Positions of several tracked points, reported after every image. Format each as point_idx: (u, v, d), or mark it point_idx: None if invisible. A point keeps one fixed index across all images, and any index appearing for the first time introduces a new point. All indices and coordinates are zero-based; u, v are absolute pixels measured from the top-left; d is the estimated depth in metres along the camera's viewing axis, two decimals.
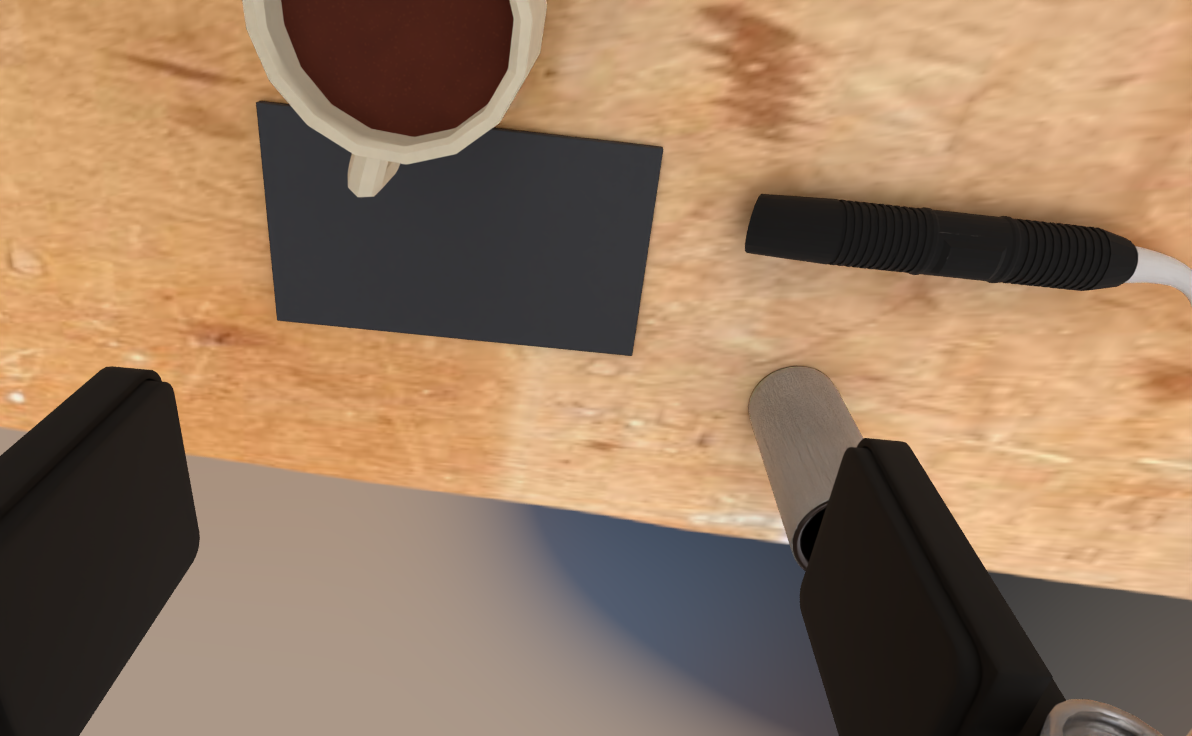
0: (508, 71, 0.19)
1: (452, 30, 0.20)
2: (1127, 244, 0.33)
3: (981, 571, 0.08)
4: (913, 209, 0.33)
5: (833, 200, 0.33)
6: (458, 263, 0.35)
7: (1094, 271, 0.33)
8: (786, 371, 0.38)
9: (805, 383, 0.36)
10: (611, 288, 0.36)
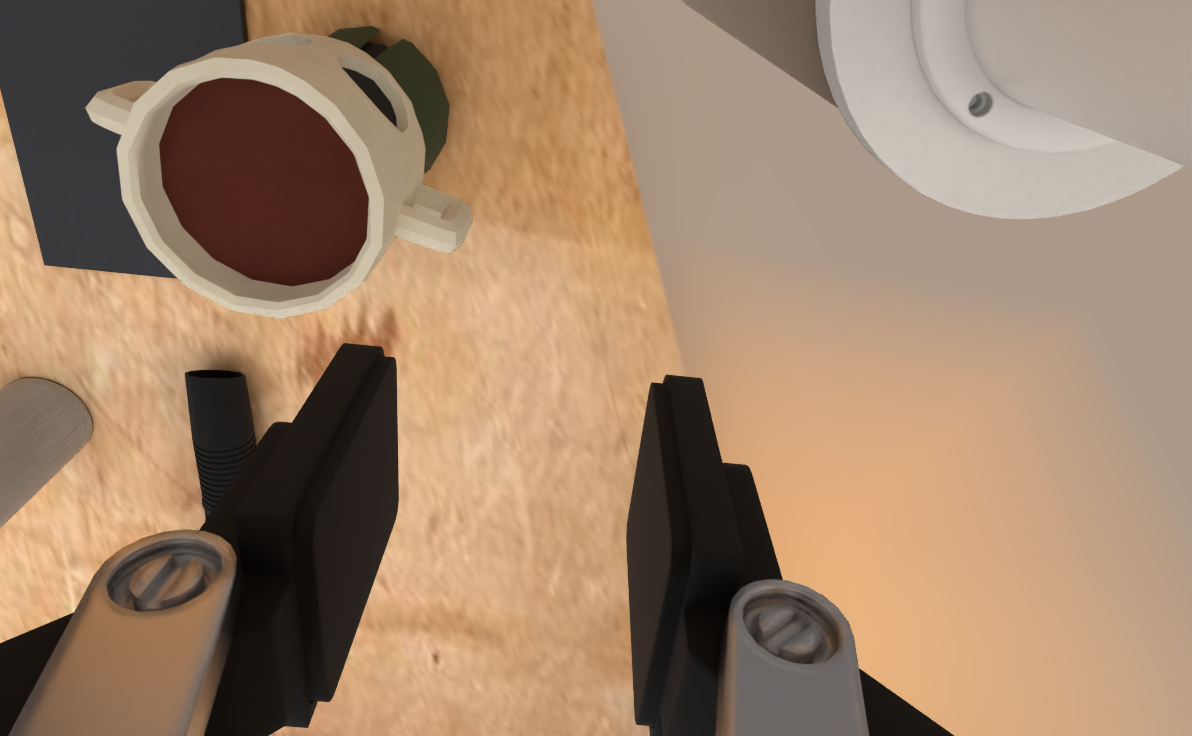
0: (234, 296, 0.22)
1: (268, 231, 0.22)
2: None
3: (719, 478, 0.09)
4: None
5: (251, 432, 0.38)
6: (93, 77, 0.31)
7: None
8: (80, 409, 0.38)
9: (70, 434, 0.37)
10: (115, 243, 0.34)
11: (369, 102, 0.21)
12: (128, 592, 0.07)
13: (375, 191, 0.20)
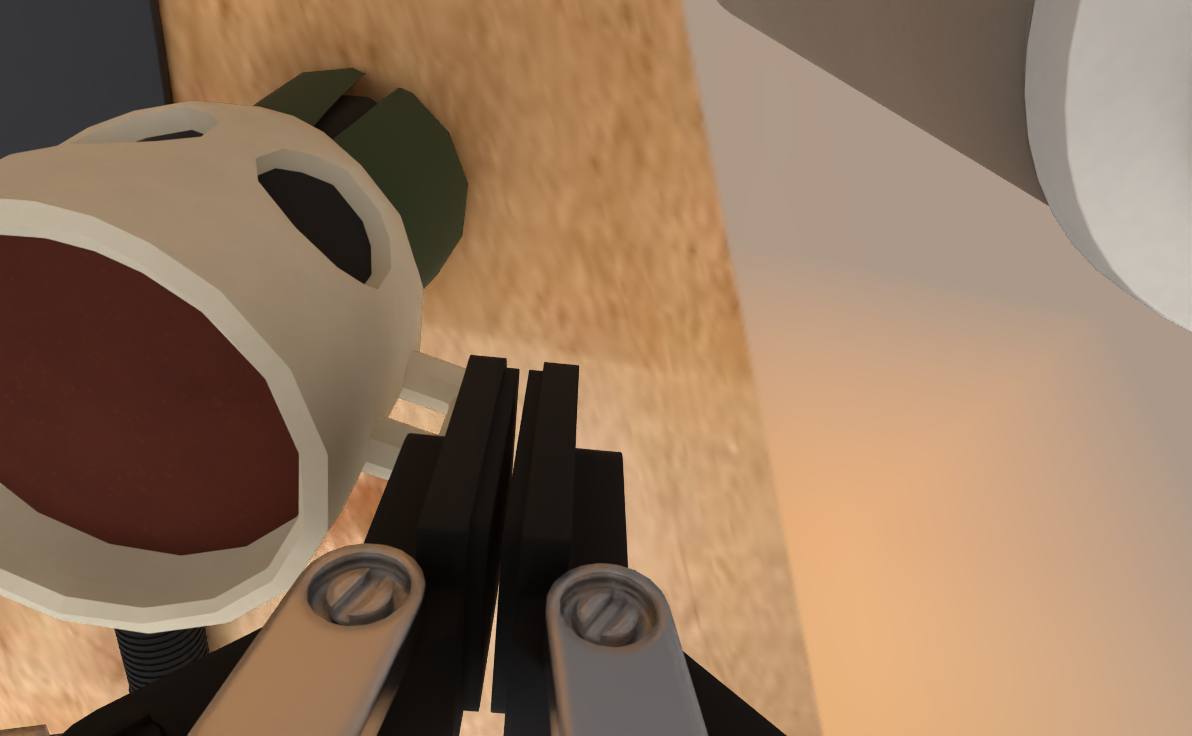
0: (62, 597, 0.12)
1: (129, 472, 0.12)
2: None
3: (567, 463, 0.09)
4: None
5: None
6: None
7: None
8: None
9: None
10: None
11: (308, 253, 0.11)
12: (325, 606, 0.07)
13: (310, 443, 0.10)
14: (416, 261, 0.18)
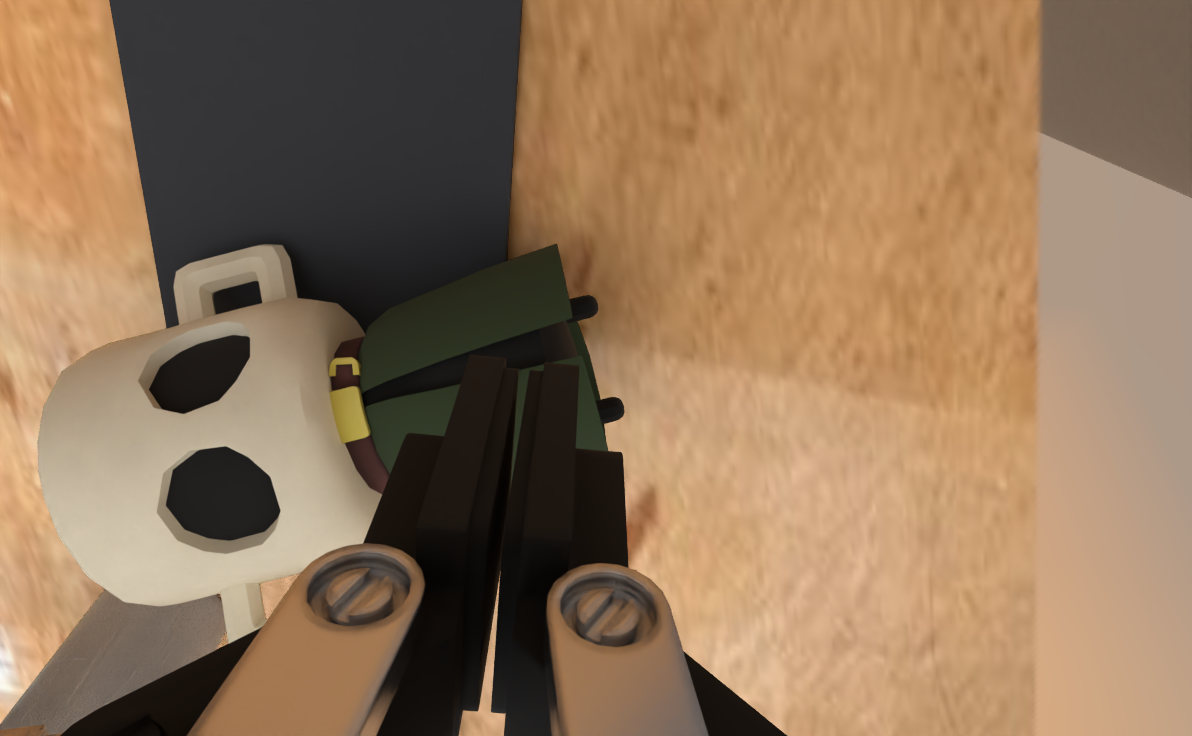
0: None
1: None
2: None
3: (568, 463, 0.09)
4: None
5: None
6: (283, 190, 0.21)
7: None
8: (215, 606, 0.28)
9: (205, 647, 0.28)
10: None
11: (149, 530, 0.17)
12: (324, 606, 0.07)
13: (119, 592, 0.19)
14: None
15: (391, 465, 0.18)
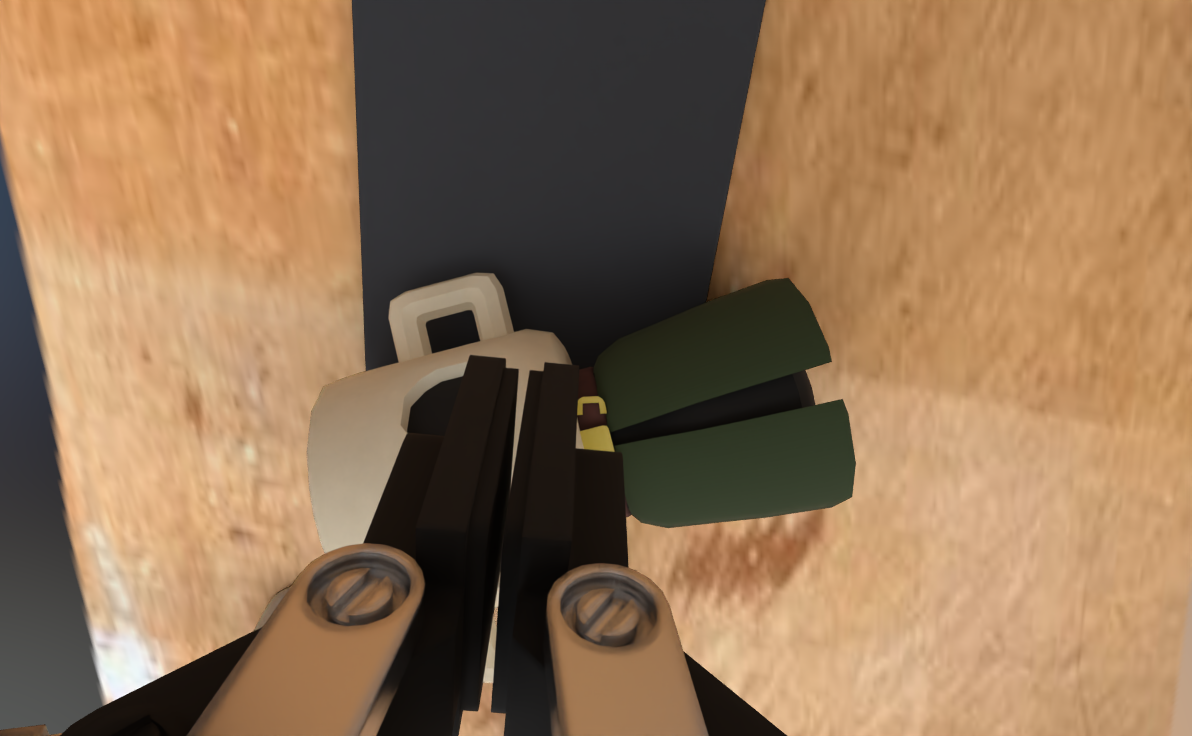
0: None
1: None
2: None
3: (568, 463, 0.09)
4: None
5: None
6: (499, 215, 0.21)
7: None
8: None
9: None
10: None
11: None
12: (324, 606, 0.07)
13: None
14: (692, 523, 0.20)
15: (637, 500, 0.19)
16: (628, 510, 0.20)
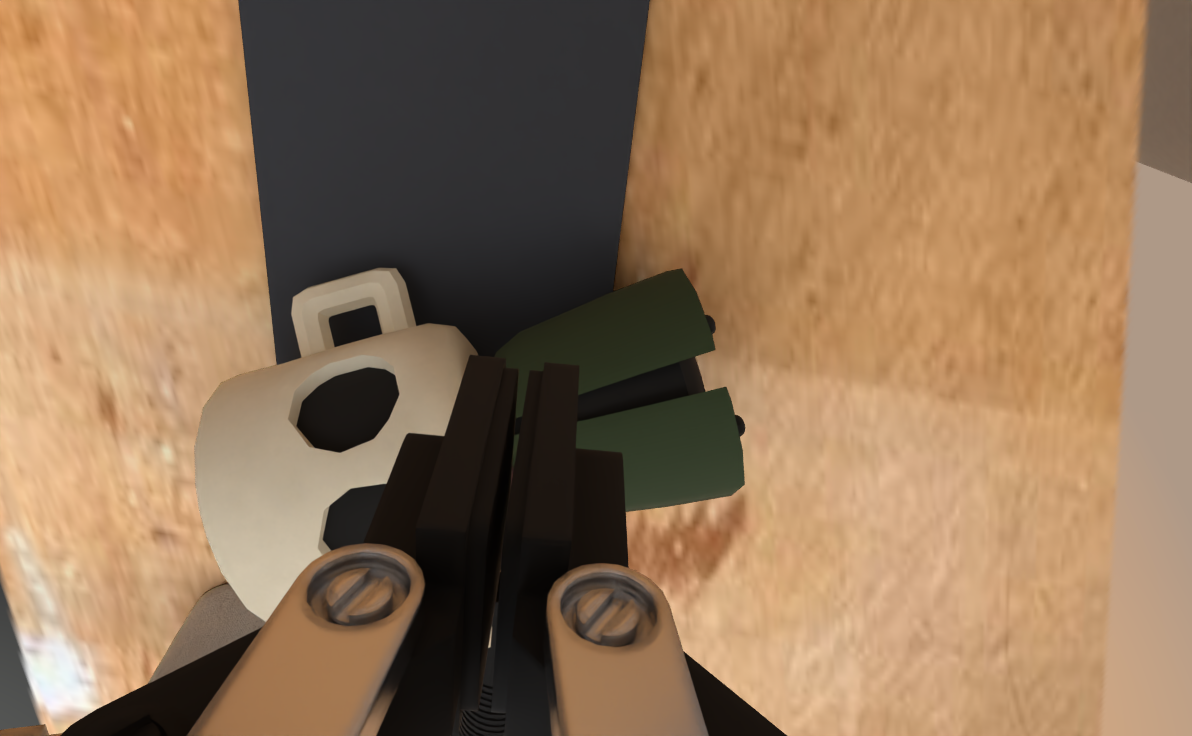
0: None
1: None
2: None
3: (568, 463, 0.09)
4: None
5: None
6: (400, 210, 0.21)
7: None
8: None
9: None
10: None
11: None
12: (324, 606, 0.07)
13: None
14: None
15: None
16: None
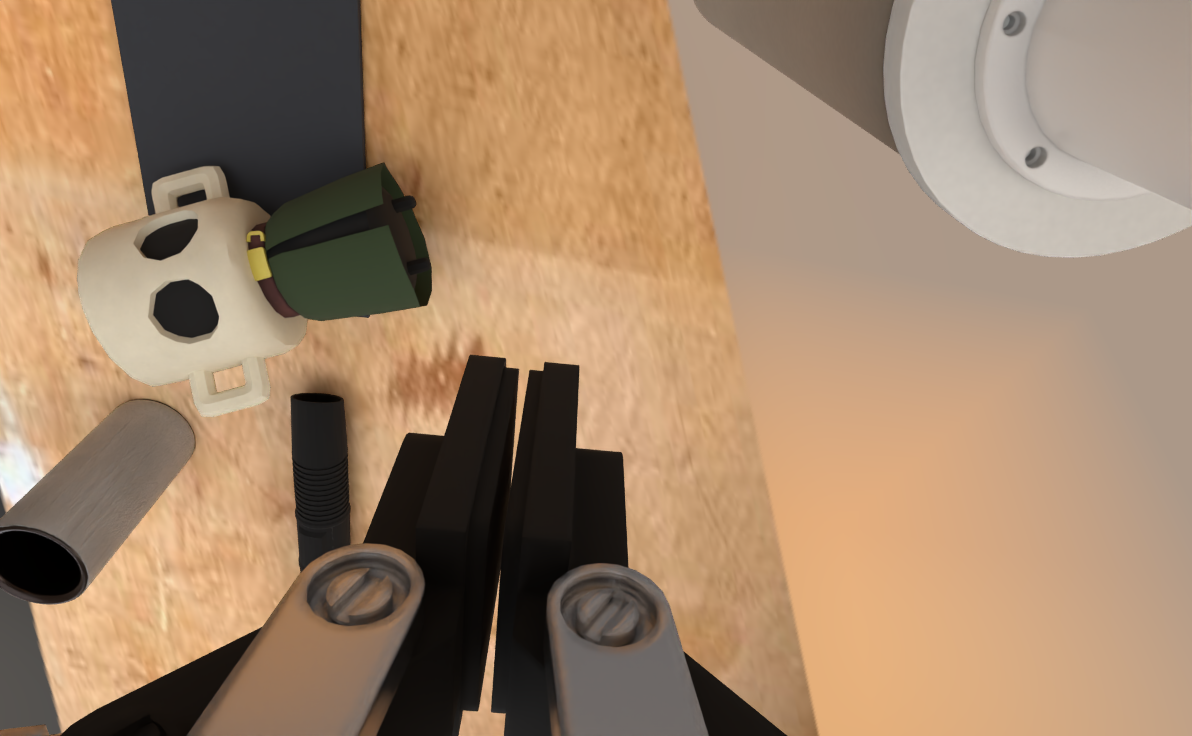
0: None
1: None
2: None
3: (568, 463, 0.09)
4: (347, 502, 0.42)
5: (346, 451, 0.41)
6: (221, 129, 0.34)
7: None
8: (185, 428, 0.41)
9: (178, 452, 0.40)
10: None
11: (144, 328, 0.30)
12: (324, 606, 0.07)
13: (128, 371, 0.32)
14: (330, 314, 0.32)
15: (285, 294, 0.31)
16: (288, 305, 0.32)
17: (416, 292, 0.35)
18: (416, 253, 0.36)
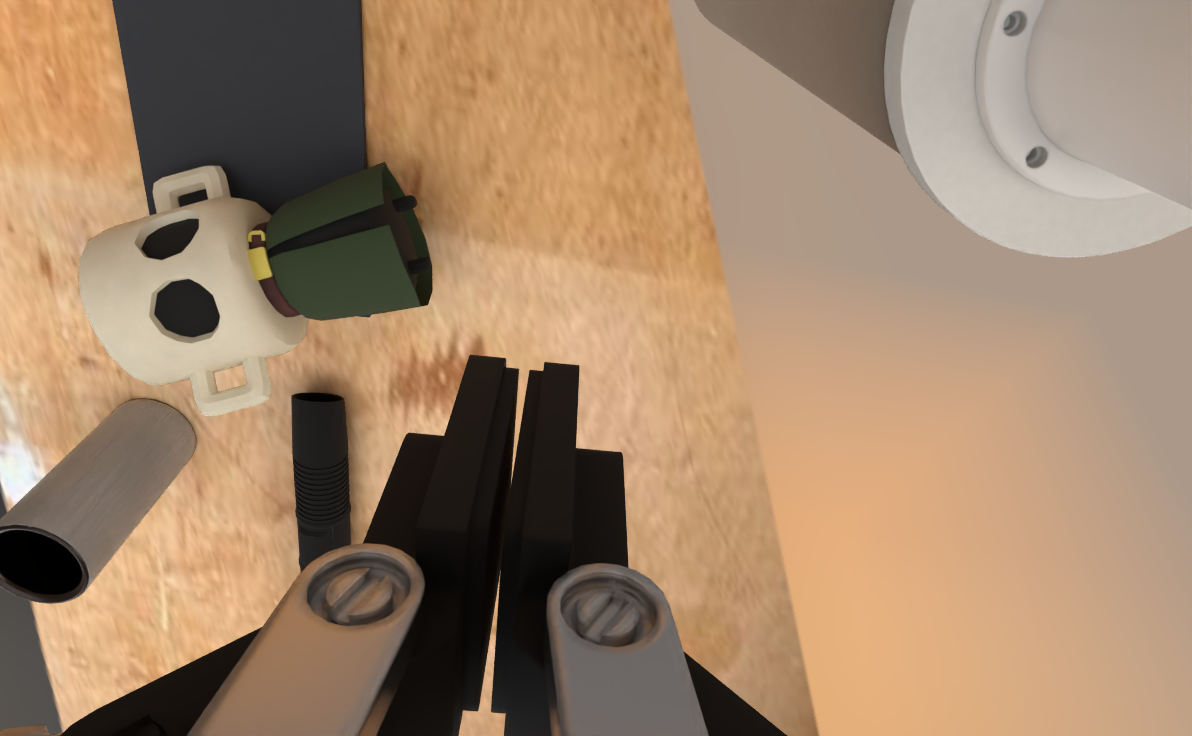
0: None
1: None
2: None
3: (568, 463, 0.09)
4: (347, 502, 0.42)
5: (346, 450, 0.41)
6: (222, 129, 0.34)
7: None
8: (186, 427, 0.41)
9: (179, 451, 0.40)
10: None
11: (145, 327, 0.30)
12: (324, 606, 0.07)
13: (129, 371, 0.32)
14: (331, 314, 0.32)
15: (286, 294, 0.31)
16: (289, 305, 0.32)
17: (417, 292, 0.35)
18: (417, 253, 0.36)
